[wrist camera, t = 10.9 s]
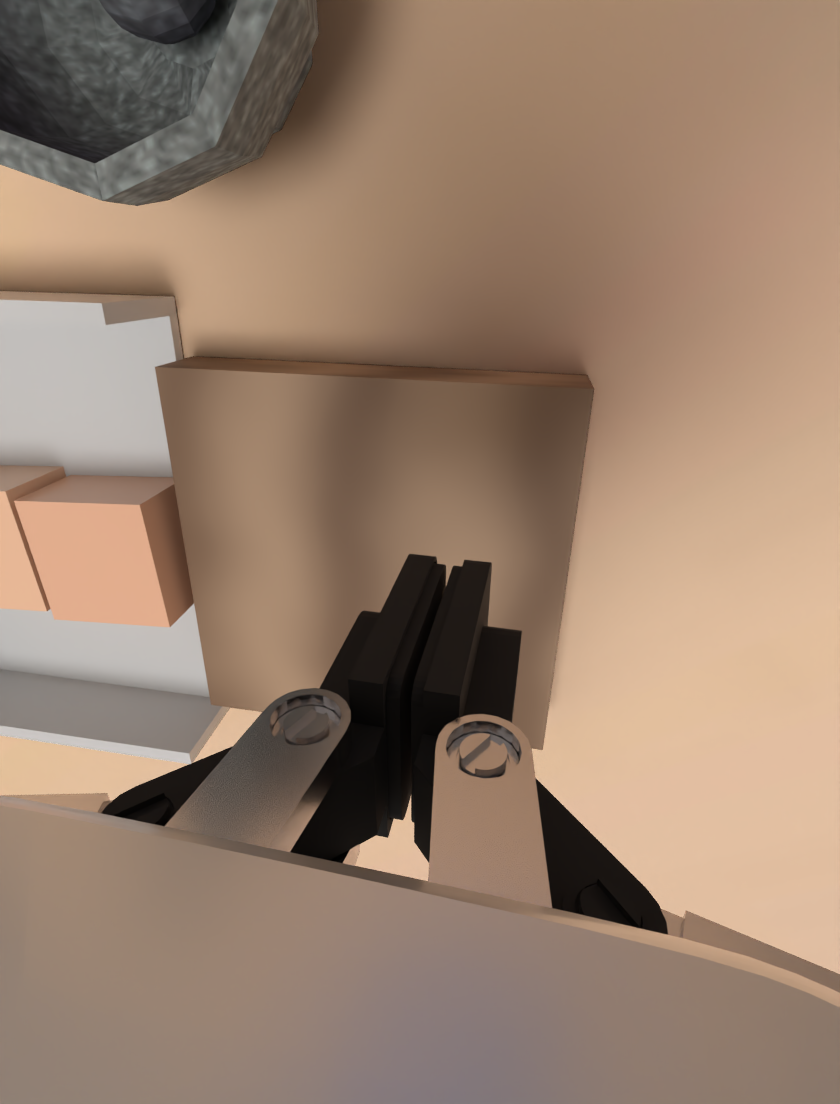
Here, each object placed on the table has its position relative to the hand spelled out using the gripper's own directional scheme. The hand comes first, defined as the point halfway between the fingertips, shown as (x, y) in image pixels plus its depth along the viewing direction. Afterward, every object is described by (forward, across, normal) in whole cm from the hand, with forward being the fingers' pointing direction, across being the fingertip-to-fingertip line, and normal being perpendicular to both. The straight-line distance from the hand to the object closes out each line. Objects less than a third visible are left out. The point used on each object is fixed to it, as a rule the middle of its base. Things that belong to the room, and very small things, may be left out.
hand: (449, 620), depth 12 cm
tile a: (+9, +14, +4) cm, 18 cm away
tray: (+10, +18, +4) cm, 21 cm away
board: (+10, +4, +4) cm, 12 cm away
